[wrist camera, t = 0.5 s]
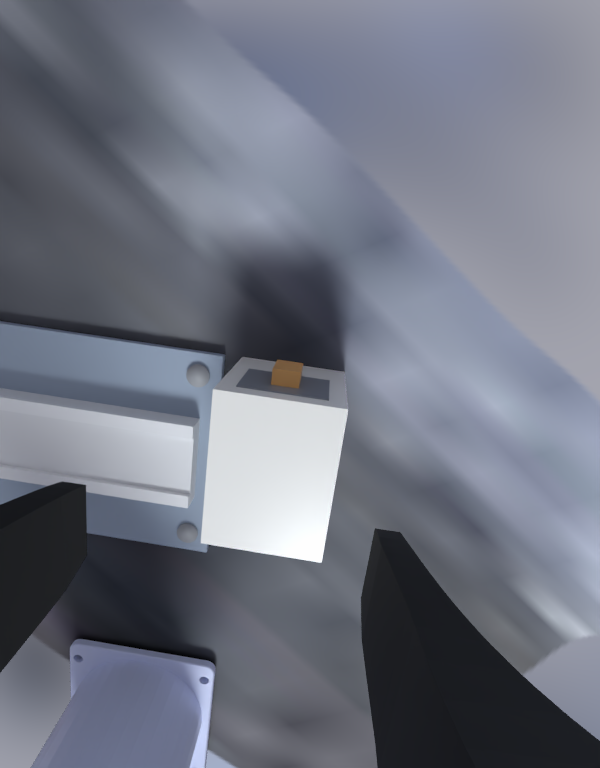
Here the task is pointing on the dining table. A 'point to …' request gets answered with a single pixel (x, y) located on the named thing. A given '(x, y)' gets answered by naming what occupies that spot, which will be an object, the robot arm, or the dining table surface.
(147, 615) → the dining table surface
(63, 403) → the rail panel
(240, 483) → the module
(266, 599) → the dining table surface
